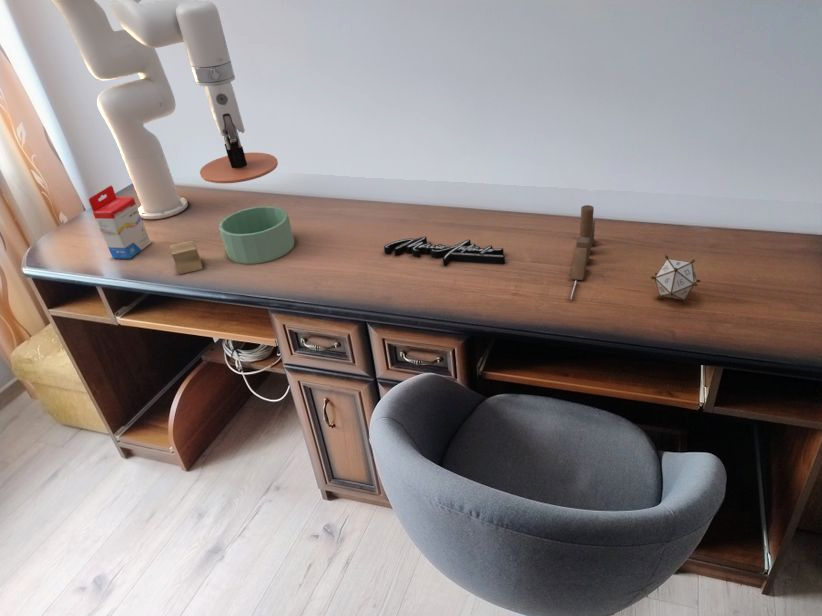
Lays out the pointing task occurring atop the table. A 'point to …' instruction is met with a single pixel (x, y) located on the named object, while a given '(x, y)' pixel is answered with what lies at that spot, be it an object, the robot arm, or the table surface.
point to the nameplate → (447, 251)
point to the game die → (675, 279)
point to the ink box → (119, 224)
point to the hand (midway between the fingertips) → (238, 163)
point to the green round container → (257, 234)
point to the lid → (239, 168)
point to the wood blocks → (583, 244)
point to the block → (186, 257)
